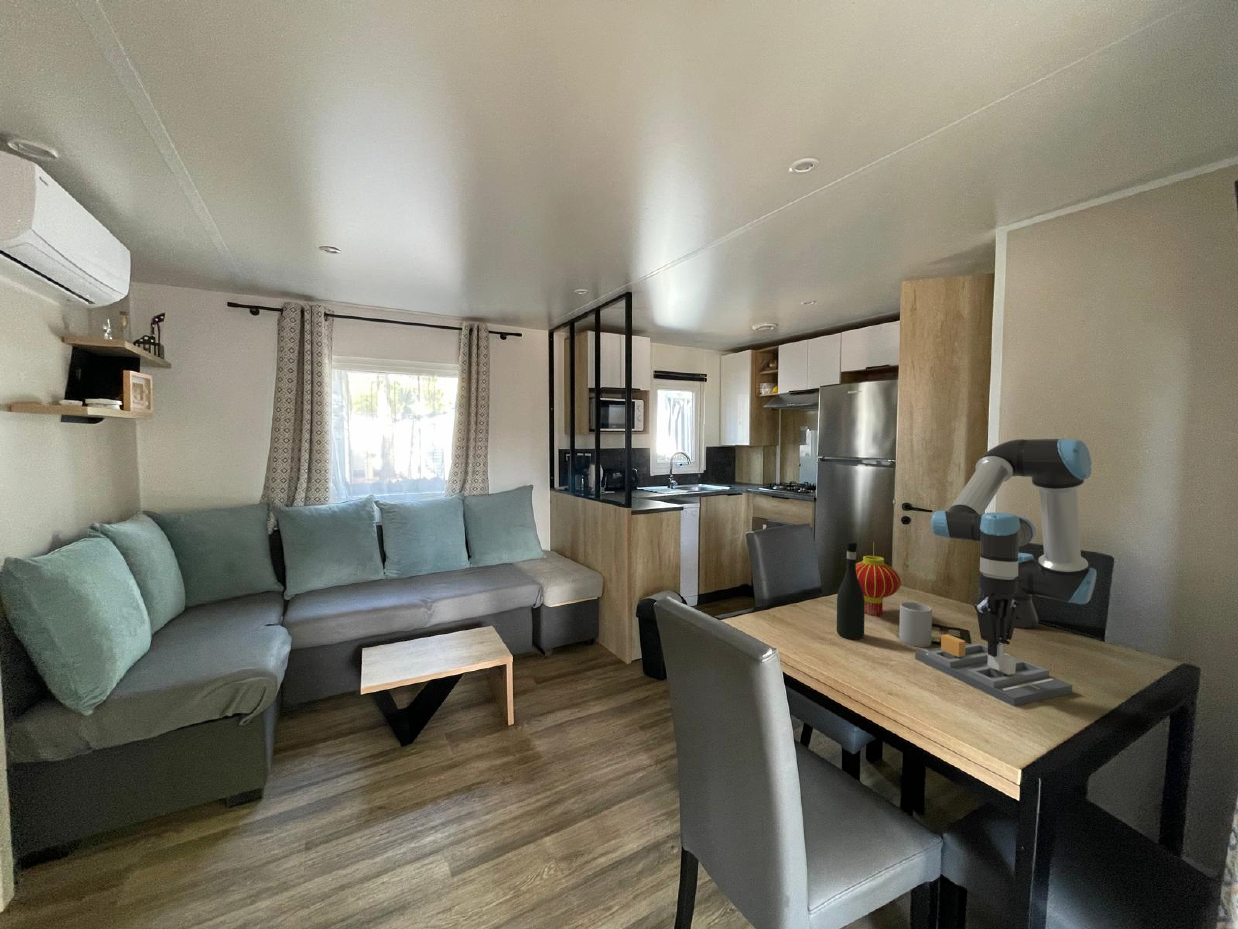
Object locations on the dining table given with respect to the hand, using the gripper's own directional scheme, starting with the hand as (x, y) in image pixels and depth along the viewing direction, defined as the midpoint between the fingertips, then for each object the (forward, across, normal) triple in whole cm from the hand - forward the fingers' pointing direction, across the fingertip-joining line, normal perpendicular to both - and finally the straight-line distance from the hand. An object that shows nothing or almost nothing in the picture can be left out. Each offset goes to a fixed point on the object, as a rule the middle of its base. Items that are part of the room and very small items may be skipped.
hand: (995, 667), depth 120 cm
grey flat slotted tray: (+5, -4, -5) cm, 8 cm away
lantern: (+5, -12, -51) cm, 53 cm away
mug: (+5, -6, -28) cm, 29 cm away
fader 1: (+3, 0, -11) cm, 11 cm away
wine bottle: (+5, +11, -37) cm, 39 cm away
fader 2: (+3, -2, 0) cm, 3 cm away
